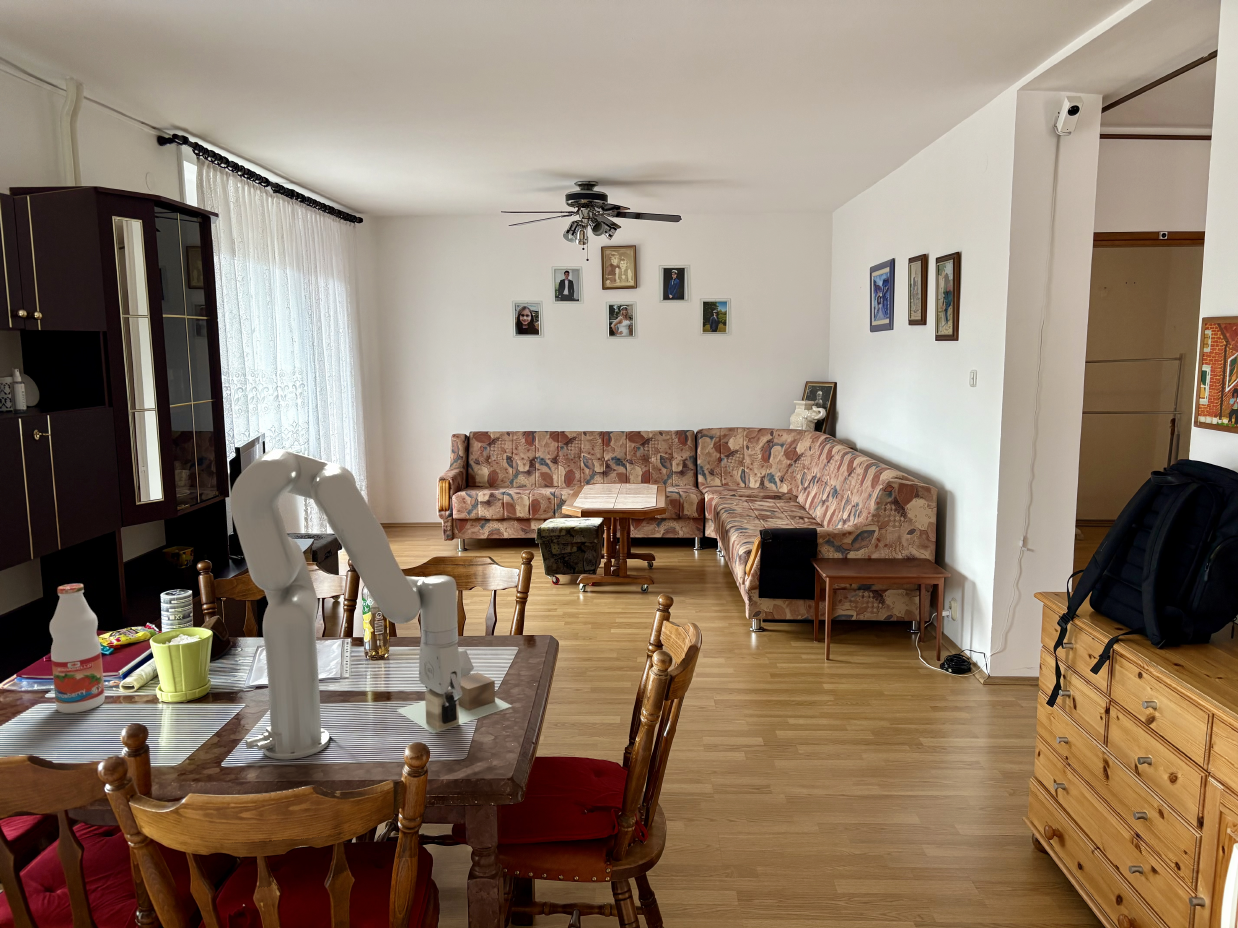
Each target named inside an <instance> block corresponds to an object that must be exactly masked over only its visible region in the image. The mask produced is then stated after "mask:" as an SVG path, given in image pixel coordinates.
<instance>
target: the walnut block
mask: <svg viewBox="0 0 1238 928" xmlns="http://www.w3.org/2000/svg"><path fill="white" fill-rule="evenodd" d="M460 688H461V690H462V696H461V697H459V699H458V705H459V706H461V707H463V708H465V709H466V710H468V711H470V710H473V709H476V708H479V707H482V706H485V705H488V704H491V703H493V702H495V697H496V680H494V679H492V678H490V677H488V676H485V675H484V674H482V673H480V672H478V671H477V672H474V673H470V674H469V675H467V676H464V677H461V686H460Z"/></svg>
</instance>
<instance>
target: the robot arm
mask: <svg viewBox="0 0 1238 928" xmlns="http://www.w3.org/2000/svg"><path fill="white" fill-rule="evenodd" d="M287 493H288V494H291V495H295V496H299V497H302V498H306V499H311V500H313V502H314V504H315V506H316V507H317V509H318V510H319V512H320V513H321V515H322V517H323V519H324V520H325V521H326V523H327V525H328V526H329V528H330V529H331V531H332V532H333V534H334V535H335V537H336V538H337V540H338V542H339V543H340V545H341V547H342V548H343V550H344V552H345V553H346V555H347V557H348V560H349V561H350V562H351V564H352V566H353V568H354V569H355V571H356V572H357V574H358V575H359V577H360V579H361V581H362V583H363V584H364V587H366V588H365V589H366V590H367V592H368V593H369V595H370V597H371V598H372V599H373V601H374V602H375V603H376V605H377V607H378V609H379V610H380V612H381V613H382V615H383V616H384V617H385V618H386V619H387V620H388V621H390V622H392V623H394V624H400V625H402V624H403V625H404V624H407V623H409V622H411V621H413V620H415V618H416V617H418V615H419V613H420V631H421V633H420V634H421V635H420V636H421V637H420V638H421V641H420V646H419V654H418V655H419V656H418V680H419V682H420V684H422V685H423V686H424V687H425V689H426V691H428V690H433V691H435V692H437V693H439V694H442V698H443V704H444V705H442V723H443V724H447V723H450V722H453V721H455V720H456V719H457V709H456V703H457V702H458V699H459V697H461V696H462V690H461V688H460V686H461V668H460V657H459V650H458V649H459V646H458V645H459V644H458V642H459V632H458V630H459V629H458V598H457V597H458V596H457V595H458V594H457V592H458V591H457V583H456V580H455V578H454V577H452V576H449V575H445V574H442V575H431V576H426V577H425V576H424V577H423V576H419V577H418V576H410V575H409V576H407V575H405V574H404V572H403V571H402V569H401V567H400V565H399V563H398V561H397V559H396V557H395V555H394V552H393V551H392V549H391V546H390V542H389V538H388V536H387V534H386V532H385V530H384V528H383V526H382V525H381V523H380V522H379V520H378V518H377V516H376V515H375V513H374V512H373V511H372V509H371V508H370V506H369V504H368V503H367V501H366V499H365V498H364V495H362V492H361V491H360V489H359V488H358V486H357V482H356V478H355V475H354V474H353V473H352V472H351V470H349V469H348V468H346V467H345V466H342V465H340V464H336V463H332V462H328V461H325V460H321V459H319V458H315V457H311V456H308V455H305V454H302V453H297V452H294V451H291V450H287V449H282V448H281V449H279V448H276V449H271V450H268V451H266V452H264V453H263V454H262V455H260V456H259V457H258V458H256V459H255V460H254V461H252V462H251V463H250V464H249V465H248V466H247V467H246V468H245V469H244V470H243V471H242V472H241V473H240V474H239V476H238V477H237V478H236V480H235V481H234V484H233V486H232V488H231V492H230V500H229V501H230V502H229V503H230V511H231V516H232V519H233V523H234V526H235V529H236V533H237V535H238V539H239V543H240V546H241V550H242V552H243V555H244V559H245V561H246V565H247V568H248V569H247V570H248V573H249V576H250V579H251V580H252V582H253V583H254V584H255V586H257V587H258V588H259V589H261V590H263V591H264V593H265V597H266V600H267V602H268V605H267V607H266V608H265V612H264V615H263V619H262V620H263V621H262V636H263V642H264V643H263V645H264V649H265V650H264V651H265V657H266V658H265V661H266V673H267V674H266V675H267V676H266V677H267V687H268V689H267V691H268V703H269V704H268V705H269V717H270V718H269V720H270V726H269V725H268V726H267V727H265V732H264V733H263V732H262V733H261V735H260V736H259V735H258V736H256V737H255V736H254V737H251V738H247V739H246V740H245V747H246V749H247V750H251V749H254V748H256V749H257V751H261V750H263V753H264V755H265V756H267V757H269V758H271V759H275V760H296V759H302V758H305V757H309V756H312V755H315V754H317V753H319V752H320V751H322V750H324V749H325V748H326V747H327V746H328V745H329V744H330V740H331V738H330V737H331V736H330V733H329V732H328V731H327V730H326V729H323V728H322V719H321V718H322V717H321V699H320V696H321V695H320V681H319V680H320V679H319V663H318V662H319V661H318V647H317V635H316V623H317V622H316V621H317V615H318V608H319V599H318V595H317V592H316V589H315V586H314V582H313V579H312V577H311V576H312V575H311V573H310V570H309V567H308V564H307V560H306V558H305V554H304V552H303V549H302V548H301V546H300V545H299V544H298V542H297V541H296V540H295V539H293V538H292V537H290V536H288V533H287V530H286V527H285V522H284V518H283V515H282V514H281V512H280V507H279V502H280V499H281V497H282V496H284V495H285V494H287ZM449 687H450V689H448V688H449ZM450 692H451V694H452V695H450V696H449V697H448V698H447V693H450Z"/></svg>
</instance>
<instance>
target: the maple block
mask: <svg viewBox="0 0 1238 928" xmlns="http://www.w3.org/2000/svg"><path fill="white" fill-rule="evenodd" d="M450 688H451V686H449V688H448V689H450ZM450 695H452V694H451V692H450V693H447V698H448V697H449V696H450ZM424 701H425V704H426V723H427V724H429V725H430V726H432V727H434V728H435V729H437V730H441V729H444V728H447V727H450V726H453V725H456V724H459V705H458V702H457V703H456V709H457V719H456V720H455V721H453V722H450V723H447V724H443V723H442V705H444V704H443V698H442V694H439V693H437V692H435V691H433V690H428V691H425V692H424Z"/></svg>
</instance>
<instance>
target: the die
mask: <svg viewBox="0 0 1238 928" xmlns="http://www.w3.org/2000/svg"><path fill="white" fill-rule="evenodd" d="M458 650H459V657H460V668H461V677H464V676H467V675H470V674H471V673H472V672H473V670H474V669H475V666H474V665H473V662H472V660H471V658H470V656H469V654H468V651H467V649H464V648H463V649H462V648H458Z"/></svg>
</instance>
